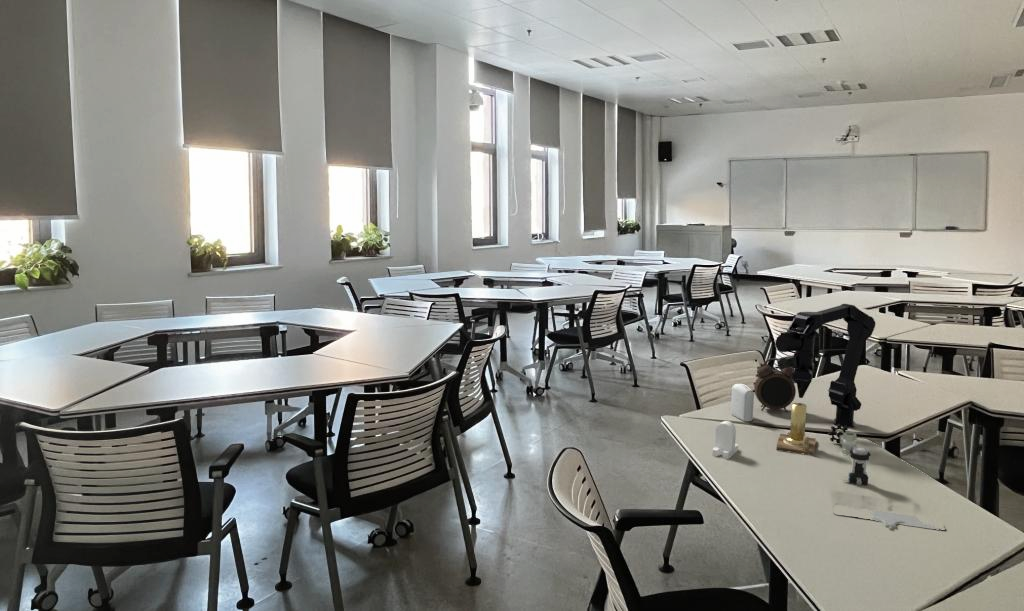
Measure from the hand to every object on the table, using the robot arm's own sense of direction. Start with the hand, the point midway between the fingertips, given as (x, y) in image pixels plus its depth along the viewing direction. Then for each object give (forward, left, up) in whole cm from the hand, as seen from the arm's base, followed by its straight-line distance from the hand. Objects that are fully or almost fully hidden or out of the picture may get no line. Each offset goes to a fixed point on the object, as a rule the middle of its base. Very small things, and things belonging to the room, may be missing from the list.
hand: (801, 394), depth 242 cm
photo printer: (-7, -20, -13) cm, 25 cm away
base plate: (+16, 0, -13) cm, 21 cm away
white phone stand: (+32, -20, -13) cm, 40 cm away
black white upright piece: (+41, +17, -13) cm, 46 cm away
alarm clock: (-21, -10, -13) cm, 27 cm away
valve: (+13, +14, -13) cm, 23 cm away
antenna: (+57, +24, -14) cm, 63 cm away
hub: (+15, 0, -12) cm, 19 cm away
